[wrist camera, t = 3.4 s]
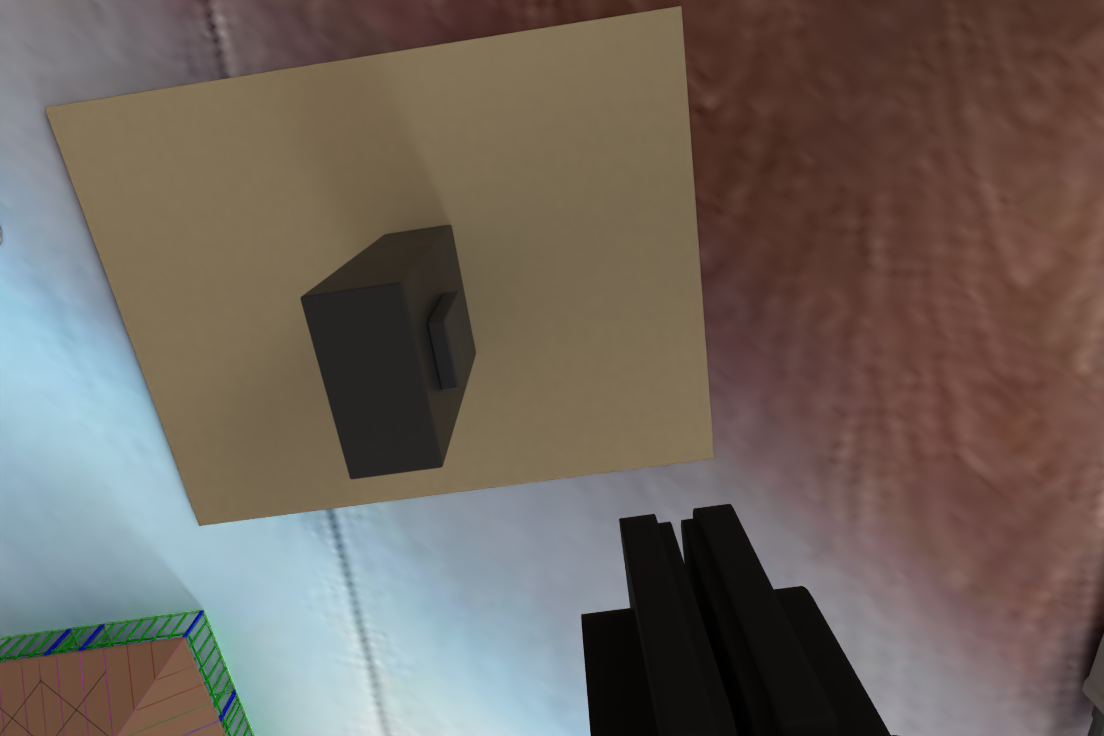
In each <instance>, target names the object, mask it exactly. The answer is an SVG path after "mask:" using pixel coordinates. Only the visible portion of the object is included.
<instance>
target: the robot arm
mask: <svg viewBox="0 0 1104 736" xmlns="http://www.w3.org/2000/svg"><path fill="white" fill-rule="evenodd" d="M619 522H620V531H621V539H622V547H623V554H624V562H625V570H626V577H627V585H628V593H629V601H630V608H627V609H620V610H612V611H604V612H596V613H589V614H581V620H582V634H583V646H584V658H585V671H586V683H587V695H588V708H589V720H590V732H591V736H897V735H890V733H889V731H888V729H887V728H886V726H885V724H884V722H883V721H882V719H881V717H880V715H879V714H878V712H877V710H876V708H875V707H874V705H873V703H872V701H871V699H870V698H869V696H868V694H867V692H866V691H865V689H864V687H863V685H862V684H861V682H860V680H859V678H858V677H857V675H856V673H855V671H854V669H853V668H852V666H851V664H850V662H849V661H848V659H847V657H846V655H845V654H844V652H843V650H842V648H841V647H840V645H839V643H838V641H837V640H836V638H835V636H834V634H833V632H832V631H831V629H830V627H829V625H828V624H827V622H826V620H825V618H824V617H823V615H822V613H821V611H820V610H819V608H818V606H817V604H816V603H815V601H814V599H813V597H812V596H811V594H810V593H809V591H808V590H807V589H806V588H805V587H803V586H798V587H790V588H782V589H774V590H773V588H772V585H771V583H770V581H769V579H768V577H767V575H766V573H765V571H764V569H763V567H762V565H761V563H760V561H759V559H758V557H757V555H756V553H755V551H754V549H753V547H752V545H751V543H750V541H749V539H748V537H747V535H746V533H745V531H744V529H743V527H742V525H741V523H740V521H739V519H738V517H737V515H736V513H735V511H734V509H733V507H732V505H731V504H725V505H717V506H710V507H702V508H695V509H694V510H693V519H686V520H681V532H682V542H683V553H684V561H683V558H682V555H681V552H680V549H679V546H678V543H677V539H676V536H675V533H674V530H673V527H672V524H671V522H664V523H658V522H657V519H656V516H655V514H650V515H642V516H635V517H627V518H620V519H619ZM684 563H685V564H684Z"/></svg>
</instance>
